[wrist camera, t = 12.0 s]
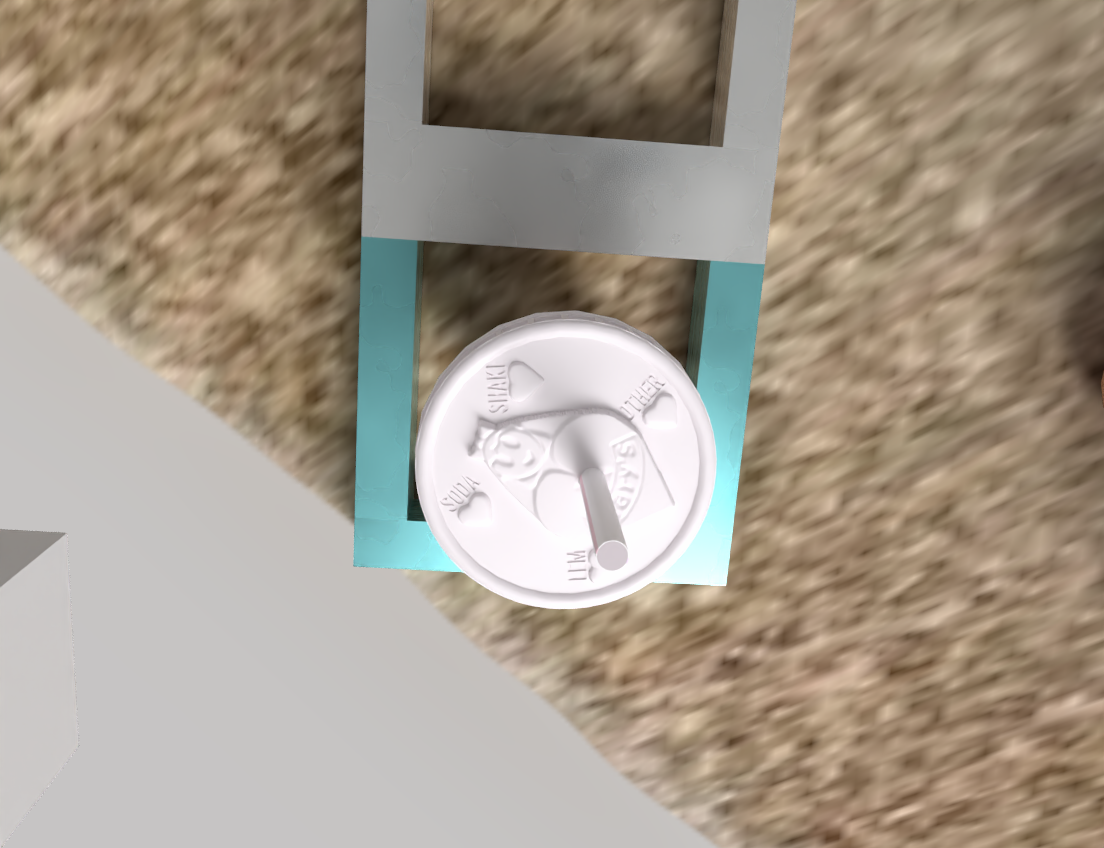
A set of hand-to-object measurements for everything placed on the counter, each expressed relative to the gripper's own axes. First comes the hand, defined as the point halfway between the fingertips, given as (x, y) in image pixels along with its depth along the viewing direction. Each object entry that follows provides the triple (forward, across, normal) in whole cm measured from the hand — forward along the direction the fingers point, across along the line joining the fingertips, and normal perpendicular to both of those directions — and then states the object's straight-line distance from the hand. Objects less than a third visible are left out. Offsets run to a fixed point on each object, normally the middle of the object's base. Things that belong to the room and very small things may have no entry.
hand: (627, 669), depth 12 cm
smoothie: (+19, 0, -1) cm, 19 cm away
